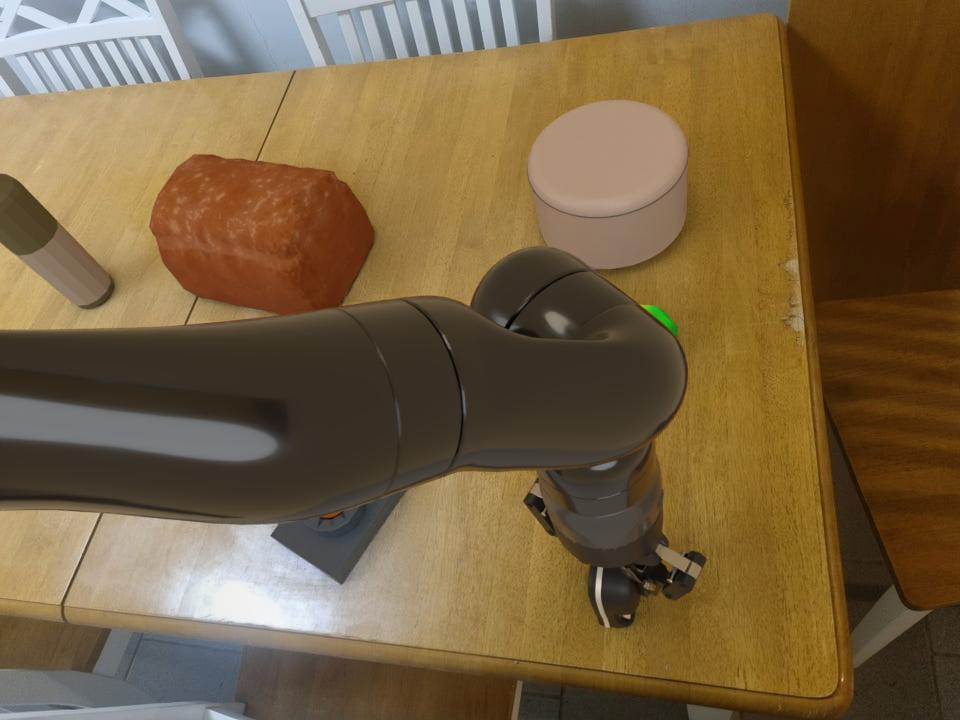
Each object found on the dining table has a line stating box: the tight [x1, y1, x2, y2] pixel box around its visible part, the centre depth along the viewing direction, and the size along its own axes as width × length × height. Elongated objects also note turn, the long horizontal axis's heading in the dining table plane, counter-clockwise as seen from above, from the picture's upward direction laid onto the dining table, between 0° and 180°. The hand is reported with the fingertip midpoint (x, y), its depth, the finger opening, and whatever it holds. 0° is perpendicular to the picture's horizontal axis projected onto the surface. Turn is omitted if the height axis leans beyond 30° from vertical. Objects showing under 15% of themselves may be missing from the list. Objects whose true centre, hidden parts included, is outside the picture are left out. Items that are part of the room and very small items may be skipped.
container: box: [526, 99, 690, 270], centre depth 86 cm, size 18×18×12 cm
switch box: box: [269, 490, 407, 586], centre depth 76 cm, size 12×9×4 cm
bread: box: [148, 153, 375, 315], centre depth 94 cm, size 17×24×15 cm
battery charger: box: [587, 565, 641, 629], centre depth 62 cm, size 7×4×11 cm, turn 167°
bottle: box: [0, 172, 115, 310], centre depth 93 cm, size 7×7×30 cm
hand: (619, 568), depth 61 cm, fingers closed on battery charger, 5 cm apart
